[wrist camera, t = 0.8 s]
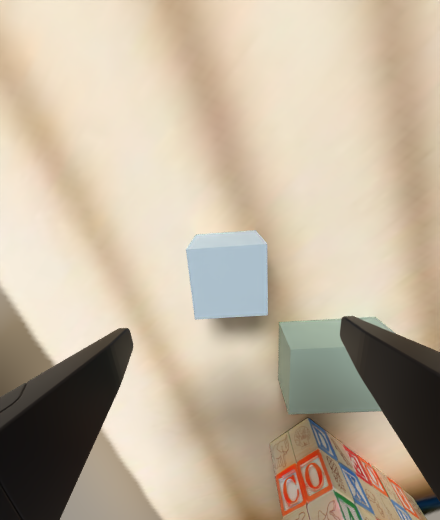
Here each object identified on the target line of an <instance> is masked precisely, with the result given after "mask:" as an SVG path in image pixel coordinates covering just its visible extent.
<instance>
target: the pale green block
mask: <svg viewBox="0 0 440 520" xmlns="http://www.w3.org/2000/svg"><path fill="white" fill-rule="evenodd" d="M359 319H362V320H364V321H366V322H369V323H371V324H373V325H376V326H378V327H381V328H383V329H385V330H388V331H390V332H393V331H392V330H391V329H389V328H388V327H387V326H386V325H385V324H383V323H382V322H381V321H380V320H378V319H377V318H376V317H365V318H359ZM340 326H341V319H328V320H310V321H292V322H279V366H278V380H279V383H280V387H281V390H282V394H283V397H284V400H285V404H286V407H287V411H288V414H314V413H341V412H369V411H382V410H381V409H380V407H379V406H378V404H377V402H376V401H375V399H374V398H373V396H372V395H371V393H370V391H369V390H368V388H367V387H366V385H365V384H364V382H363V380H362V379H361V377H360V375H359V374H358V372H357V370H356V368H355V366H354V364H353V362H352V360H351V358H350V356H349V354H348V352H347V350H346V348H345V347H344V345H343V343H342V341H341V338H340ZM393 333H394V332H393ZM395 334H396V333H395Z"/></svg>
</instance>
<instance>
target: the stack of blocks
mask: <svg viewBox="0 0 440 520" xmlns="http://www.w3.org/2000/svg"><path fill="white" fill-rule="evenodd" d="M270 449H271V455H272V461H273V465H274V470H275V475H276V476H275V479H276V484H277V490H278V495H279V501H280V506H281V511H282V515H283V519H282V520H427V519H426V517H425V516H424V514H423V513H422V511H421V510H420V508H419V507H418V505H417V504H416V502H415V500H414V499H413V497H412V496H410V495H409V494H408V493H407V492H405V491H404V490H403V489H401V488H400V486H399V485H397V484H396V483H395V482H393V481H392V480H391V479H389V478H388V477H386V475H384V474H383V473H382V472H380V471H379V470H378V469H377V468H375V467H374V466H371V465H370V464H369V463H367V462H366V461H365V460H363V459H362V458H360V457H359V456H358V455H356V454H355V453H353V452H352V451H351V450H349V449H348V448H347V447H345V446H344V445H343V444H342V443H341V442H340V441H339V440H337V439H336V438H335V437H333V436H332V435H331V434H329V433H328V432H327V431H325V430H324V429H323V428H321V427H320V426H319V425H317V424H316V423H315V422H313V421H312V420H311V419H309V418H307V419H305V420H304V421H302V422H301V423H299V424H298V425H296V426H295V427H293V428H292V429H290V430H289V431H288V432H286V433H284V434H283V435H281V436H280V437H278V438H277V439H275V440H274V441H273V442H271V443H270Z"/></svg>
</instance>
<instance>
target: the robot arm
mask: <svg viewBox="0 0 440 520" xmlns="http://www.w3.org/2000/svg"><path fill="white" fill-rule="evenodd" d="M340 338H341V341H342V343H343V345H344V347H345V348H346V350H347V352H348V354H349V356H350V358H351V360H352V362H353V364H354V366H355V368H356V370H357V372H358V374H359V375H360V377H361V379H362V380H363V382H364V384H365V385H366V387H367V388H368V390H369V391H370V393H371V395H372V396H373V398H374V399H375V401H376V402H377V404H378V406H379V407H380V409H381V410H382V412H383V413H384V415H385V416H386V418H387V420H388V421H389V423H390V424H391V426H392V427H393V429H394V431H395V432H396V434H397V435H398V437H399V438H400V440H401V442H402V443H403V445H404V446H405V448H406V449H407V451H408V453H409V454H410V456H411V457H412V459H413V460H414V462H415V464H416V465H417V467H418V468H419V470H420V471H421V473H422V475H423V476H424V478H425V479H426V481H427V482H428V484H429V486H430V487H431V489H432V490H433V492H434V493H435V495H436V497H437V498H438V500H439V501H440V352H438V351H436V350H433V349H431V348H428V347H426V346H424V345H421V344H419V343H417V342H414V341H412V340H409V339H407V338H405V337H402V336H400V335H397V334H395V333H393V332H390V331H388V330H385V329H383V328H381V327H378V326H376V325H373V324H371V323H369V322H366V321H364V320H362V319H359V318H357V317H354V316H344V317H342V319H341V326H340ZM132 350H133V341H132V337H131V333H130V330H129V329H128V328H119V329H117V330H115V331H114V332H112V333H110V334H108V335H107V336H105V337H103V338H102V339H100V340H98V341H96V342H95V343H93V344H91V345H89V346H88V347H86V348H84V349H83V350H81V351H79V352H77V353H76V354H74V355H72V356H71V357H69V358H67V359H65V360H64V361H62V362H60V363H59V364H57V365H55V366H53V367H52V368H50V369H48V370H47V371H45V372H43V373H41V374H40V375H38V376H36V377H35V378H33V379H31V380H30V381H28V382H27V383H24V384H22V385H21V386H19V387H17V388H16V389H14V390H12V391H10V392H9V393H7V394H5V395H3V396H2V397H0V520H60V517H61V515H62V513H63V511H64V509H65V507H66V504H67V502H68V500H69V498H70V496H71V493H72V491H73V489H74V487H75V485H76V482H77V480H78V478H79V476H80V474H81V471H82V469H83V467H84V465H85V463H86V460H87V458H88V456H89V454H90V451H91V449H92V447H93V445H94V443H95V440H96V438H97V436H98V434H99V432H100V429H101V427H102V425H103V423H104V421H105V418H106V416H107V414H108V412H109V410H110V407H111V405H112V403H113V401H114V399H115V396H116V394H117V392H118V390H119V387H120V385H121V382H122V380H123V377H124V374H125V371H126V368H127V365H128V362H129V359H130V356H131V353H132Z"/></svg>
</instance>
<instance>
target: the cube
mask: <svg viewBox="0 0 440 520" xmlns="http://www.w3.org/2000/svg"><path fill="white" fill-rule="evenodd" d="M186 252H187V260H188V268H189V276H190V284H191V292H192V299H193V307H194V315H195V319H210V318H228V317H246V316H263V315H268V283H267V243H266V242H265V241H264V240H263V238H262V237H261V236H260V235H259V234H258V233H257V231H256V230H254V231H240V232H226V233H212V234H198V235H195V237H194V238H193V240H192V241H191V243H190V244H189V246H188V247H187V249H186Z"/></svg>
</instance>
